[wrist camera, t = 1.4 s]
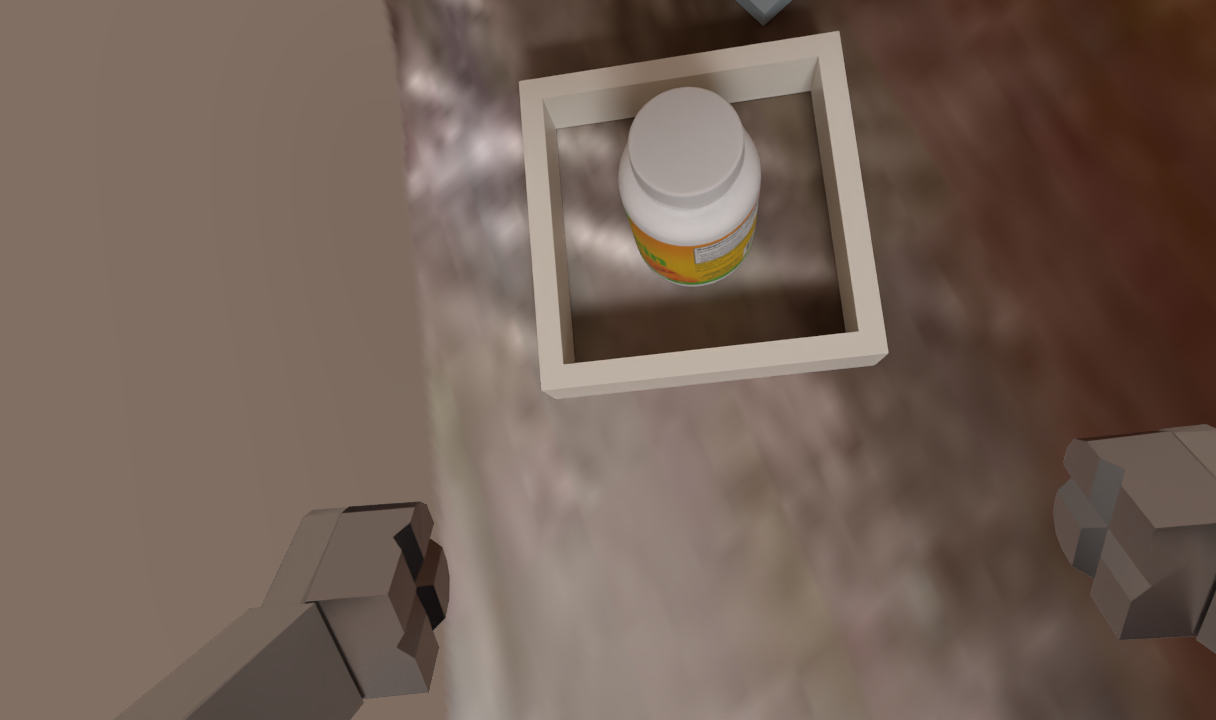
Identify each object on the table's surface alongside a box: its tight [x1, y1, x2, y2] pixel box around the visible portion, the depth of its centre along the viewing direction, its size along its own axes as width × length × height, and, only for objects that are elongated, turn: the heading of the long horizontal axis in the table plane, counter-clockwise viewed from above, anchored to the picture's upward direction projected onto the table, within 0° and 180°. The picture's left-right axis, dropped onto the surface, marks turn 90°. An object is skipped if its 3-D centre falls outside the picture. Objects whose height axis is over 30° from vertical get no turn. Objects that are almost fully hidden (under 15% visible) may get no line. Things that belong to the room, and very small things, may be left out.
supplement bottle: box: [618, 87, 761, 287], centre depth 32 cm, size 5×5×10 cm
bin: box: [519, 31, 888, 399], centre depth 35 cm, size 14×14×3 cm
